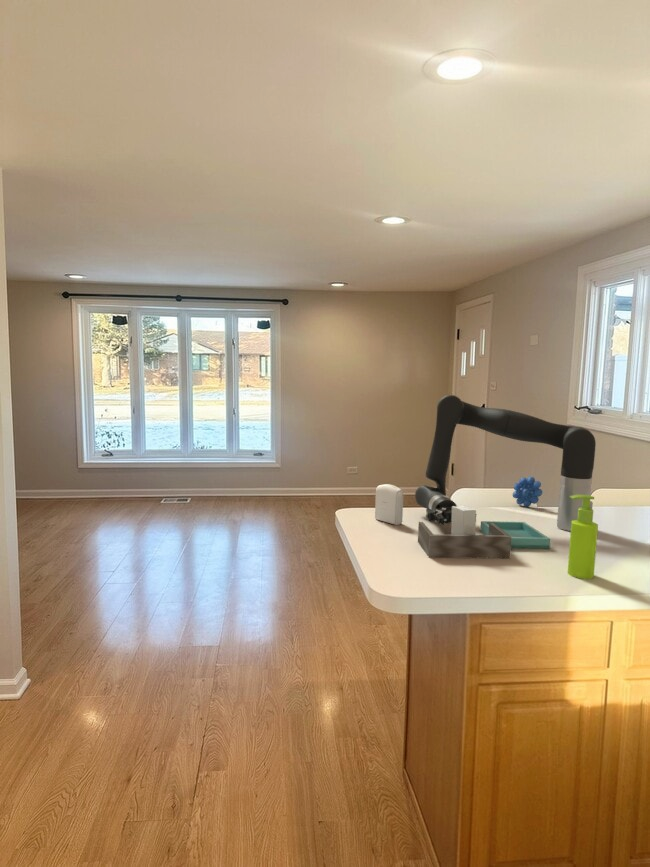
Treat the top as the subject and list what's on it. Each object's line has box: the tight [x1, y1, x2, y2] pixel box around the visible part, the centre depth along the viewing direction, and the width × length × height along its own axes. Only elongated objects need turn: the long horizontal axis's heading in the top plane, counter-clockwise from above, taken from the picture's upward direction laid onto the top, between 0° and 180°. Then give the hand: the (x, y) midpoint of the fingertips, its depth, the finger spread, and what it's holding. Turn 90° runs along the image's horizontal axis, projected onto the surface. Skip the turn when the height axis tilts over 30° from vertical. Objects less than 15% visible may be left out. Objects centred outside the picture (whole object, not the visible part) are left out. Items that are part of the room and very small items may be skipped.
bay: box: [417, 521, 512, 559], centre depth 149 cm, size 22×14×6 cm, turn 93°
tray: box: [479, 520, 551, 550], centre depth 161 cm, size 14×18×3 cm
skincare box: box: [450, 504, 477, 535], centre depth 149 cm, size 6×4×12 cm
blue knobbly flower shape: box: [512, 476, 543, 508], centre depth 205 cm, size 12×7×12 cm, turn 42°
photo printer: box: [374, 483, 404, 526], centre depth 177 cm, size 10×4×12 cm, turn 39°
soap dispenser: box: [567, 495, 599, 580], centre depth 132 cm, size 6×7×20 cm
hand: (457, 521), depth 154 cm, fingers open, 8 cm apart
